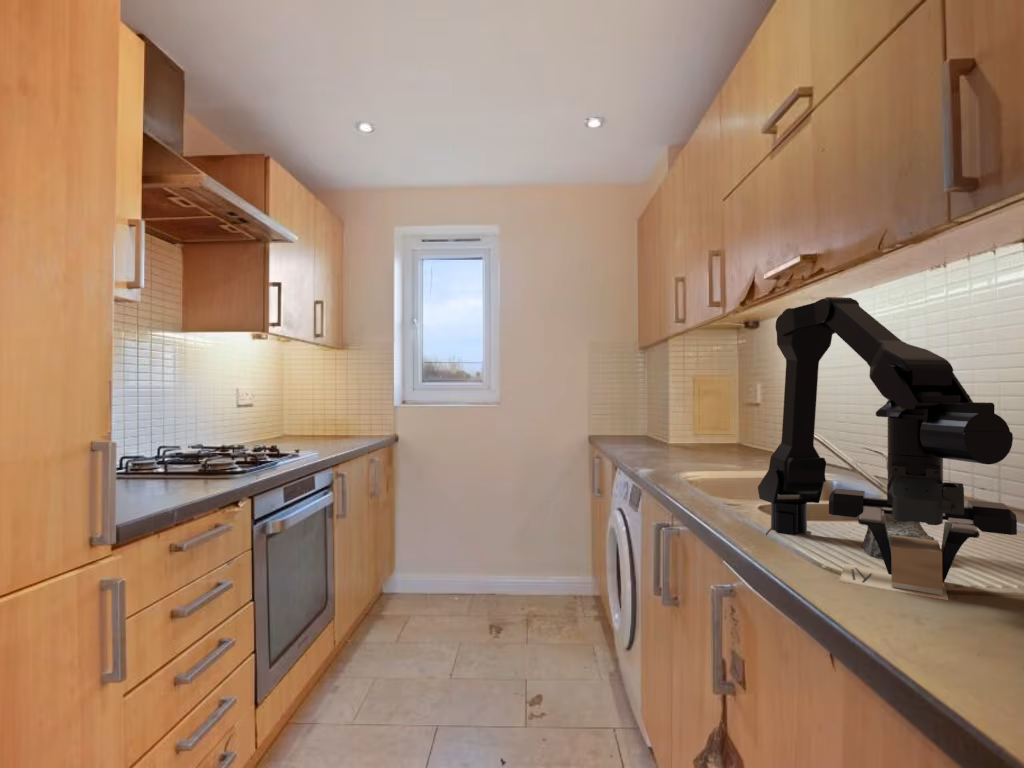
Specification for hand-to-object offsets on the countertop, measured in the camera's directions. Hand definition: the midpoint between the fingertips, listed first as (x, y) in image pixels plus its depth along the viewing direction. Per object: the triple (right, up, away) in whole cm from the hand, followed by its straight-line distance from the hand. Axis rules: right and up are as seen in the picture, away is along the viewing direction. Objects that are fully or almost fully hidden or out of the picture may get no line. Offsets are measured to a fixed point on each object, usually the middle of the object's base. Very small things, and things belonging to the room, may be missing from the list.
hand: (915, 577), depth 71 cm
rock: (+7, -3, +14) cm, 16 cm away
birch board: (-2, -2, +1) cm, 3 cm away
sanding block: (0, -1, 0) cm, 1 cm away
